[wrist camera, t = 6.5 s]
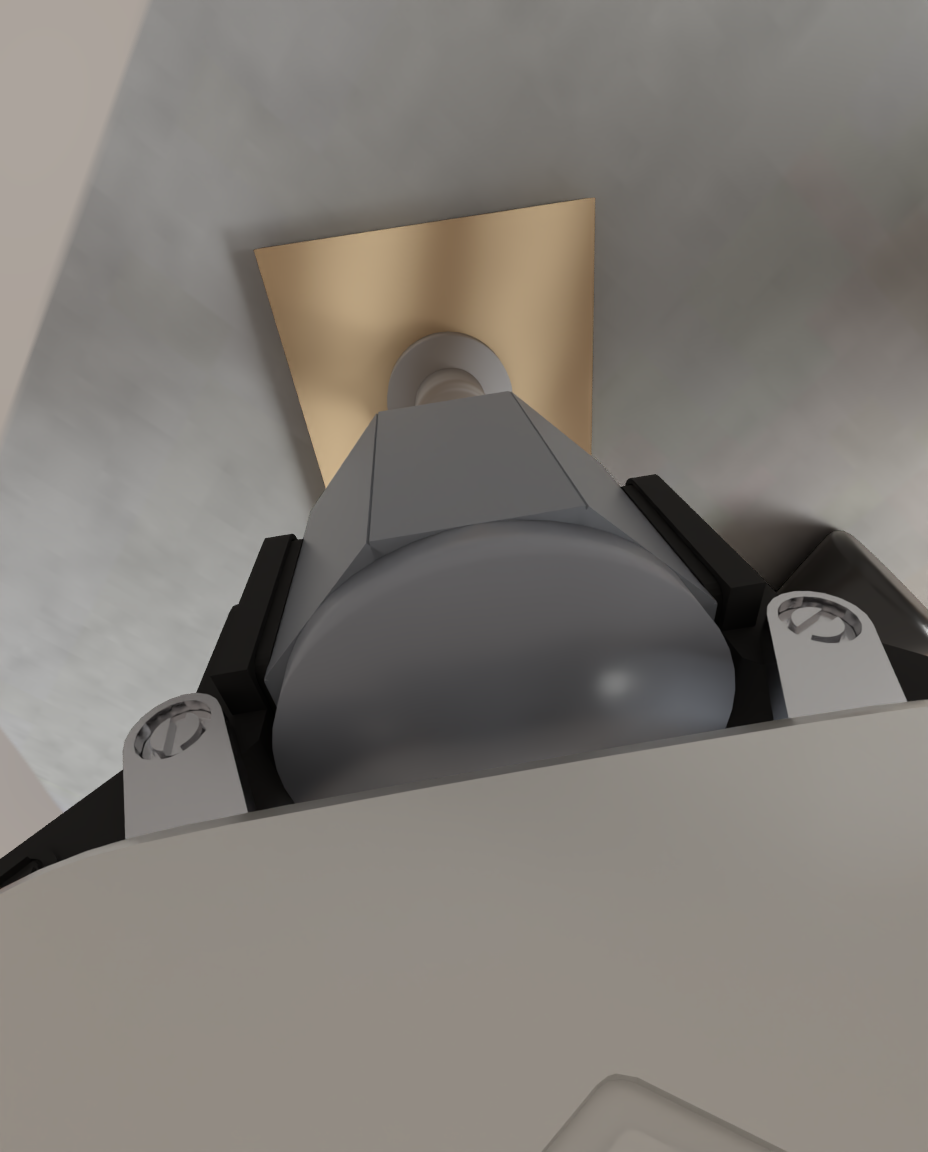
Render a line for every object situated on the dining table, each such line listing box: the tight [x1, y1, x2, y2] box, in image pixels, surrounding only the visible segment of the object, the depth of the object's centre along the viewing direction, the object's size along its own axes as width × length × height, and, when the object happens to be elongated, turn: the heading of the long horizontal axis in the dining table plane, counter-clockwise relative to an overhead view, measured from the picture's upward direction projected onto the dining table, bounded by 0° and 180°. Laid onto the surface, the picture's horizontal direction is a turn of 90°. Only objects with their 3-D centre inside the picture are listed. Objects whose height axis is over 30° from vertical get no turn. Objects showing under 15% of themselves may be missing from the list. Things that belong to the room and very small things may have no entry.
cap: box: [264, 391, 735, 804], centre depth 10 cm, size 6×6×6 cm
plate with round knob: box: [254, 198, 595, 488], centre depth 20 cm, size 12×12×7 cm
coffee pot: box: [776, 531, 928, 656], centre depth 28 cm, size 8×18×8 cm
